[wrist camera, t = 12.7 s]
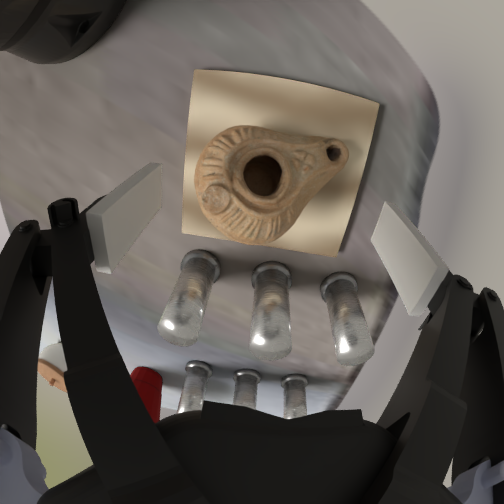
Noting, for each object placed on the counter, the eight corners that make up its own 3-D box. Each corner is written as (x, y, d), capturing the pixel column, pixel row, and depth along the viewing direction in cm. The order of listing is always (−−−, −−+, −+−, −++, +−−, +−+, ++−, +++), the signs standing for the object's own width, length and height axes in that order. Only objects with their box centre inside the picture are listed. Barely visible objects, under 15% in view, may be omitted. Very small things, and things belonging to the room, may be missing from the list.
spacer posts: (182, 246, 29) (150, 310, 21) (361, 274, 30) (386, 340, 21) (186, 372, 43) (174, 422, 34) (303, 387, 43) (305, 437, 35)
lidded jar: (67, 335, 42) (46, 371, 34) (97, 369, 47) (82, 403, 39) (41, 334, 44) (22, 365, 36) (69, 365, 49) (54, 395, 41)
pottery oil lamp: (350, 197, 24) (374, 233, 18) (226, 221, 26) (212, 263, 20) (335, 104, 20) (361, 107, 14) (198, 134, 22) (171, 149, 16)
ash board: (197, 70, 19) (194, 69, 19) (375, 103, 20) (379, 103, 19) (184, 228, 28) (181, 233, 27) (334, 252, 28) (336, 257, 27)
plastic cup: (176, 368, 42) (159, 428, 32) (175, 394, 48) (162, 444, 38) (118, 350, 42) (94, 405, 31) (125, 378, 47) (108, 426, 37)
